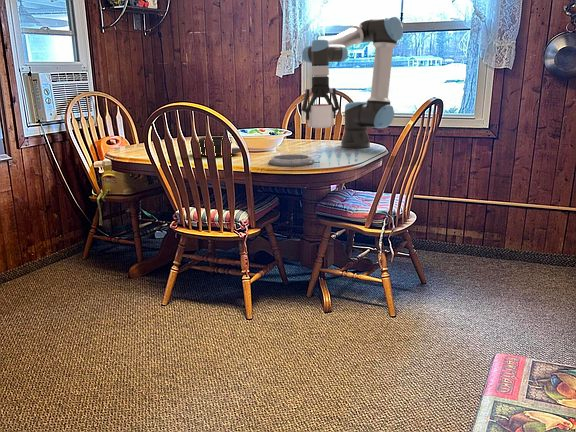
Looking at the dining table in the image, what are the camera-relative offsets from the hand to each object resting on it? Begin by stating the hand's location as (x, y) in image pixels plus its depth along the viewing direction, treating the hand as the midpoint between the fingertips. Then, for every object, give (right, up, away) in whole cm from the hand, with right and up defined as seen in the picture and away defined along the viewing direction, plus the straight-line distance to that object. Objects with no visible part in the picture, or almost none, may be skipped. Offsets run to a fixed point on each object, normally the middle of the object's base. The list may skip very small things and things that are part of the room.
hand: (320, 126), depth 250 cm
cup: (0, 0, 0) cm, 1 cm away
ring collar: (-13, -17, -8) cm, 23 cm away
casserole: (-50, -11, +18) cm, 55 cm away
